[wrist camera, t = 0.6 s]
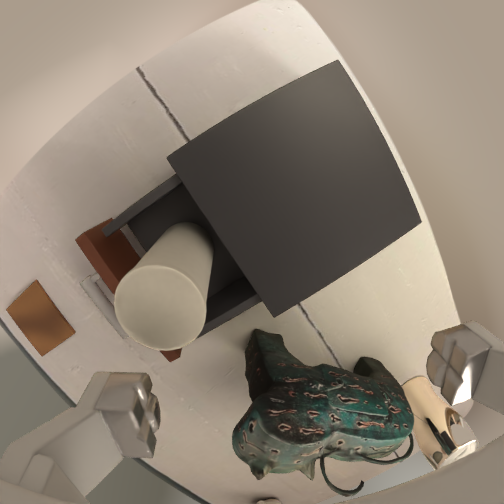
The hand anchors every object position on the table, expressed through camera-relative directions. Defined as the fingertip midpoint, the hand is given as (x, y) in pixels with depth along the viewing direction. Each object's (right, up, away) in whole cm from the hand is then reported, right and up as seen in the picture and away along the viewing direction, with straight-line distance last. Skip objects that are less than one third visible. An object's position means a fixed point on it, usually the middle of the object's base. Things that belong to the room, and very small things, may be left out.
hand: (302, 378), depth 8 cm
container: (-7, +4, +22) cm, 23 cm away
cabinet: (+2, +10, +22) cm, 25 cm away
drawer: (-9, +3, +23) cm, 25 cm away
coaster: (-28, -5, +25) cm, 38 cm away
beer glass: (+23, -18, +32) cm, 43 cm away
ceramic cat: (+6, -9, +28) cm, 30 cm away
